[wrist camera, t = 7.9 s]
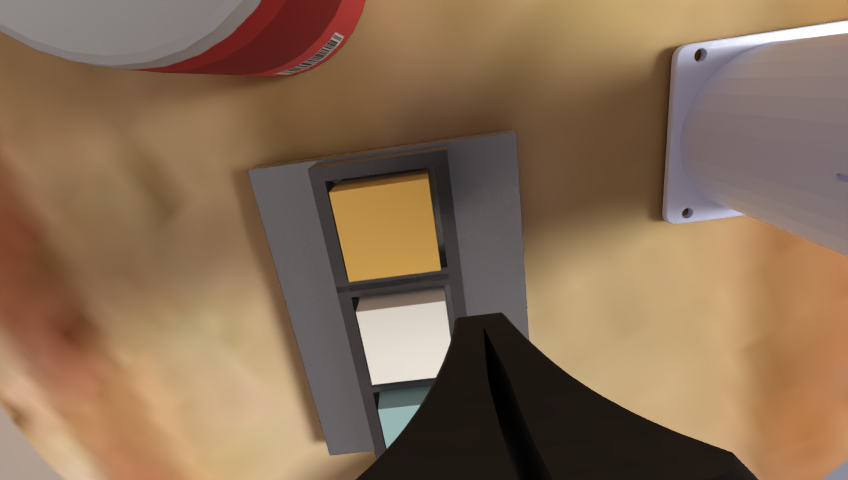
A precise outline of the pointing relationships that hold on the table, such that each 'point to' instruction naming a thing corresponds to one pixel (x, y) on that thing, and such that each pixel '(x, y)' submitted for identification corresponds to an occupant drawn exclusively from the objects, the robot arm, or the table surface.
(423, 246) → the amber button
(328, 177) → the button panel
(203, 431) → the table surface
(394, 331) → the cream button
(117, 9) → the canned food
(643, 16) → the table surface
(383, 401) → the teal button
